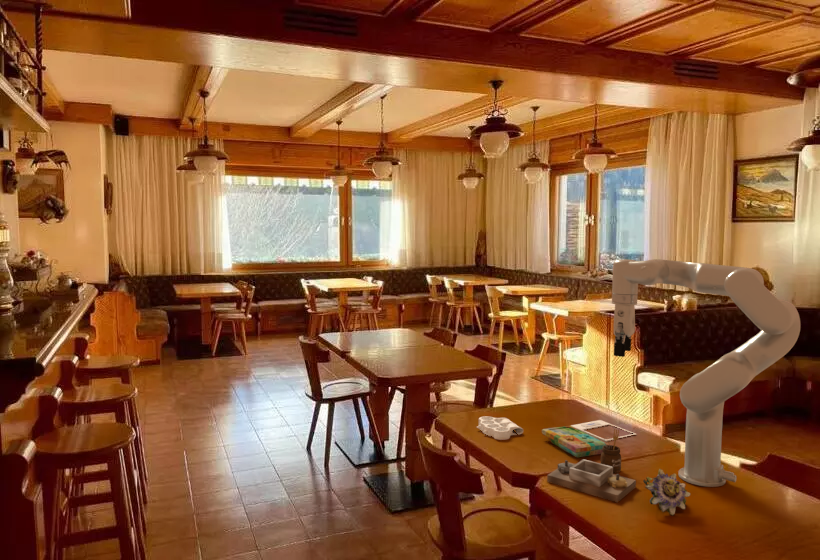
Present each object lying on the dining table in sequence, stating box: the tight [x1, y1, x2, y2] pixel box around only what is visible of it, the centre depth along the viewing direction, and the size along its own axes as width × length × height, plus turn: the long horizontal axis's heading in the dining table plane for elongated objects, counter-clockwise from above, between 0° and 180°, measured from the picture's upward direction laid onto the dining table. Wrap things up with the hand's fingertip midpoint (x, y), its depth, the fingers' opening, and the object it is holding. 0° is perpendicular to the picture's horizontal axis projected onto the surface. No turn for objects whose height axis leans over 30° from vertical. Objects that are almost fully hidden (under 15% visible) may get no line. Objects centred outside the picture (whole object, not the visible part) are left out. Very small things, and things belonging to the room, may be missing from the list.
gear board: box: [546, 458, 637, 503], centre depth 177 cm, size 21×13×5 cm, turn 49°
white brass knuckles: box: [476, 415, 524, 441], centre depth 224 cm, size 3×18×15 cm
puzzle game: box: [541, 425, 607, 458], centre depth 208 cm, size 12×5×20 cm
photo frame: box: [570, 419, 637, 443], centre depth 224 cm, size 15×1×18 cm
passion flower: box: [642, 468, 691, 516], centre depth 162 cm, size 11×11×12 cm
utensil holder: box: [600, 428, 622, 474], centre depth 187 cm, size 6×6×12 cm
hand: (622, 353), depth 193 cm, fingers open, 9 cm apart
